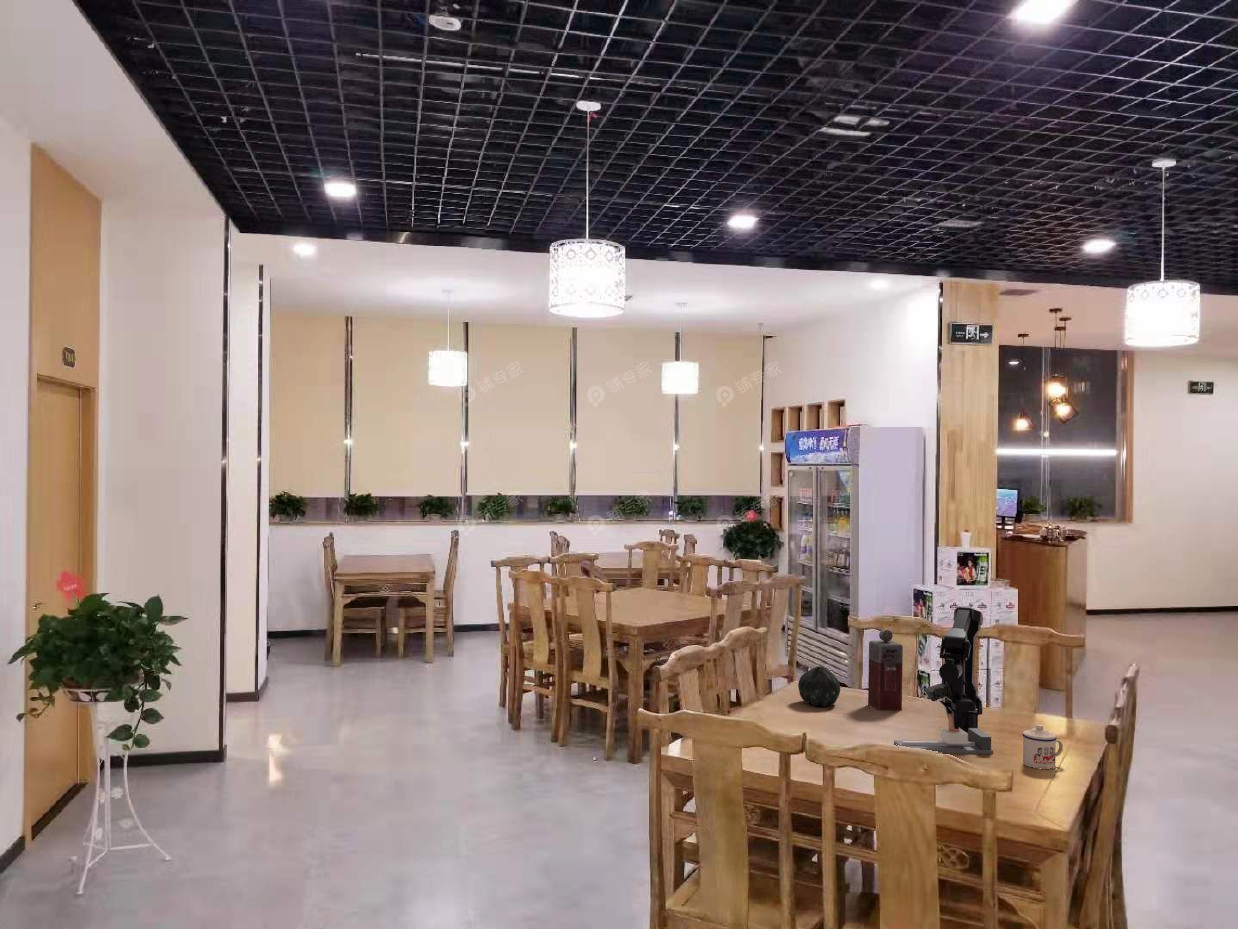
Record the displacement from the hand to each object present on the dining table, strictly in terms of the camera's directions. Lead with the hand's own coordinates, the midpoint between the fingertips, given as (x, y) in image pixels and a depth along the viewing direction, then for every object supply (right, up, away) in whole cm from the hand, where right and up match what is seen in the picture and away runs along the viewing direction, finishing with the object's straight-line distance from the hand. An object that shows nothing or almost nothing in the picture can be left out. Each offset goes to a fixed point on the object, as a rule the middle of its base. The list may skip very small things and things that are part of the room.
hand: (954, 727), depth 291 cm
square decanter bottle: (-7, -7, +50) cm, 51 cm away
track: (-3, -6, 0) cm, 7 cm away
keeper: (0, -4, 0) cm, 4 cm away
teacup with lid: (+21, -7, -15) cm, 27 cm away
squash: (-30, -7, +54) cm, 62 cm away
